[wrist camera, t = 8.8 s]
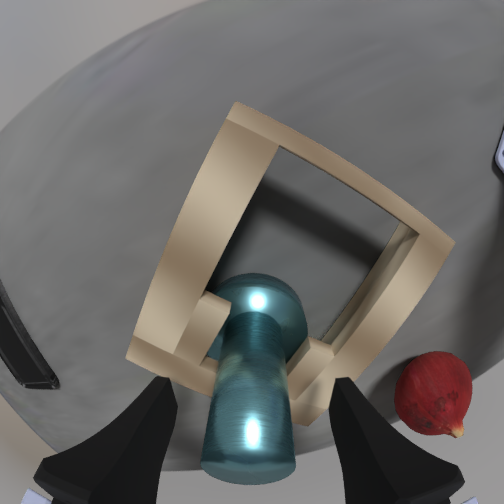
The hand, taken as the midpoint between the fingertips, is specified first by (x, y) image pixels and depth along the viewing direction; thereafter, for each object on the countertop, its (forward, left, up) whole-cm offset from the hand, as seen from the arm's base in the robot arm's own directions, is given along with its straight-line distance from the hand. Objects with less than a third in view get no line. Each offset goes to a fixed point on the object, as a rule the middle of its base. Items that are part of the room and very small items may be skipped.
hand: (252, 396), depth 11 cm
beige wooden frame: (-3, 0, -6) cm, 7 cm away
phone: (+14, -20, -7) cm, 25 cm away
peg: (0, 0, -6) cm, 6 cm away
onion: (-2, +13, -6) cm, 15 cm away
